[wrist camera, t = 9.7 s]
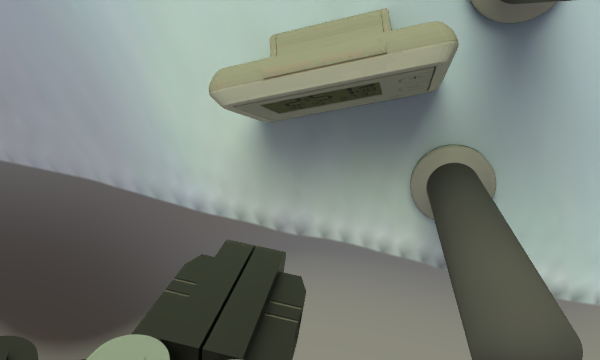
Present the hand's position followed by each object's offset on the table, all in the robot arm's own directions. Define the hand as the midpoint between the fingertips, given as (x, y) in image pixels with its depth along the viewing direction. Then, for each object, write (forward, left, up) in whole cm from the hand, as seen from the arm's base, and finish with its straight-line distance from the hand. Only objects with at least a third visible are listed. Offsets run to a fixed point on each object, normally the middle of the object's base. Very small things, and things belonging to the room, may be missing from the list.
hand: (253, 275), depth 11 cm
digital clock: (0, -1, -28) cm, 28 cm away
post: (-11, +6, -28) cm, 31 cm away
